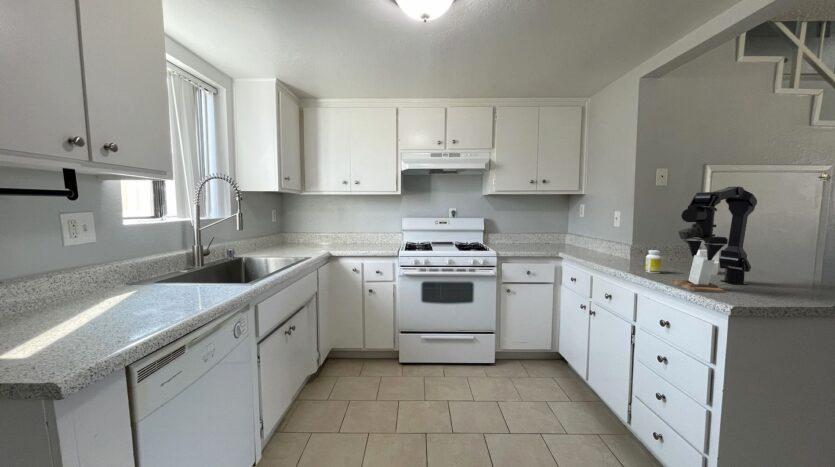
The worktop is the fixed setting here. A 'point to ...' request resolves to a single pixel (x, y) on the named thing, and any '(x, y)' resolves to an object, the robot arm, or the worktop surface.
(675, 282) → the wooden slatted trivet
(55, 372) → the worktop surface
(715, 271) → the cylinder with rectangular tab
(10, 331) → the worktop surface
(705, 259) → the skincare box
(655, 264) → the pill bottle
